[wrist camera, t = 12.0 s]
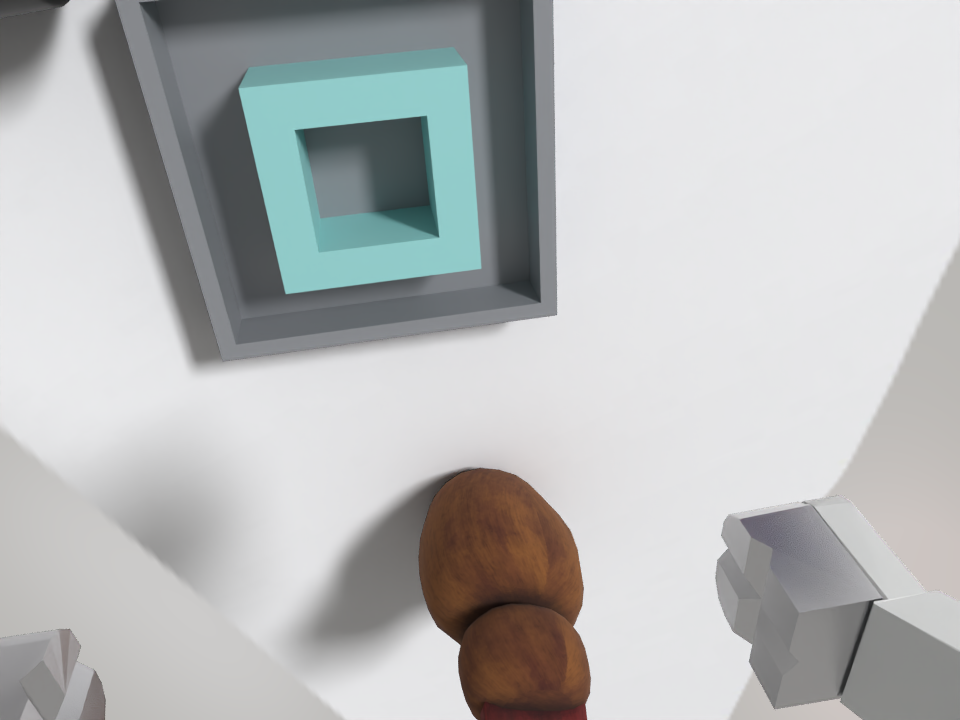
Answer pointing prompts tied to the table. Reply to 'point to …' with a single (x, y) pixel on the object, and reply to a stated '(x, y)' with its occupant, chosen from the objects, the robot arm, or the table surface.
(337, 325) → the tray
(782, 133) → the table surface
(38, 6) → the end cap
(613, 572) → the table surface
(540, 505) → the wooden figurine
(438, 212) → the ring
